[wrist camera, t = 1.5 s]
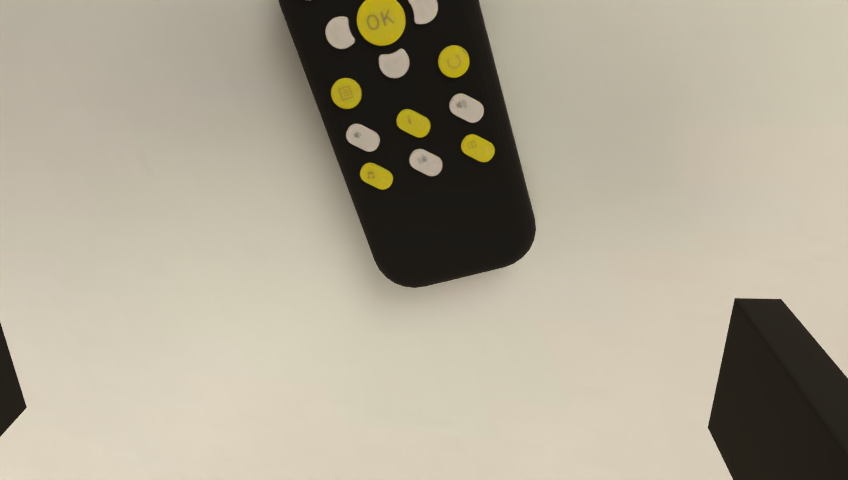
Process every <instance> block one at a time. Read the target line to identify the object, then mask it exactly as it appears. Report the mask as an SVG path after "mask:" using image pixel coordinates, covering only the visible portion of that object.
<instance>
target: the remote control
mask: <svg viewBox="0 0 848 480" xmlns="http://www.w3.org/2000/svg"><path fill="white" fill-rule="evenodd" d="M279 3H280V6H281V9H282V12H283V15H284V17H285V20H286V23H287V25H288V28H289V31H290V33H291V36H292V39H293V41H294V44H295V47H296V50H297V52H298V55H299V58H300V60H301V63H302V66H303V68H304V71H305V74H306V77H307V79H308V82H309V85H310V87H311V90H312V93H313V95H314V98H315V101H316V104H317V106H318V109H319V112H320V114H321V117H322V120H323V122H324V125H325V128H326V130H327V133H328V136H329V139H330V141H331V144H332V147H333V149H334V152H335V155H336V157H337V160H338V163H339V166H340V168H341V171H342V174H343V176H344V179H345V182H346V184H347V187H348V190H349V192H350V195H351V198H352V201H353V203H354V206H355V209H356V211H357V214H358V217H359V219H360V222H361V225H362V228H363V230H364V233H365V236H366V238H367V241H368V244H369V246H370V249H371V252H372V254H373V257H374V260H375V262H376V264H377V266H378V268H379V270H380V271H381V272H382V273H383V274H384V275H385V276H386V277H387V278H388V279H390V280H391V281H393V282H394V283H396V284H399V285H402V286H405V287H413V288H416V287H424V286H429V285H433V284H437V283H441V282H445V281H449V280H453V279H457V278H462V277H466V276H470V275H474V274H478V273H482V272H486V271H490V270H494V269H499V268H503V267H506V266H508V265H511V264H514V263H515V262H516V261H518V260H519V259H521V258H522V257H523V256H524V255H525V254H526V253H527V252H528V250H529V249H530V247H531V245H532V243H533V241H534V237H535V231H536V226H535V218H534V214H533V210H532V206H531V202H530V198H529V194H528V190H527V187H526V183H525V179H524V175H523V171H522V167H521V163H520V159H519V156H518V152H517V148H516V144H515V140H514V136H513V132H512V128H511V124H510V121H509V117H508V113H507V109H506V105H505V101H504V97H503V93H502V89H501V86H500V82H499V78H498V74H497V70H496V66H495V62H494V58H493V55H492V51H491V47H490V43H489V39H488V35H487V31H486V27H485V24H484V20H483V16H482V12H481V8H480V4H479V0H279Z"/></svg>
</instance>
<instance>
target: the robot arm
mask: <svg viewBox="0 0 848 480" xmlns="http://www.w3.org/2000/svg"><path fill="white" fill-rule="evenodd" d="M26 408H27V407H26V404H25V401H24V398H23V394H22V391H21V388H20V385H19V381H18V378H17V375H16V372H15V369H14V365H13V362H12V359H11V356H10V352H9V349H8V346H7V343H6V339H5V336H4V333H3V330H2V327H1V323H0V436H1V435H2V434H3V433H4V432H5V431H6V430H7V429H8V427H9V426H10V425H11V424H12V423H13V422H14V421H15V420H16V419H17V418H18V416H19V415H20V414H21V413H22V412H23V411H24V410H25V409H26ZM708 428H709V430H710V432H711V435H712V437H713V439H714V441H715V443H716V445H717V447H718V449H719V451H720V453H721V455H722V457H723V459H724V462H725V464H726V466H727V468H728V470H729V472H730V474H731V476H732V478H733V480H848V378H847V377H846V376H845V375H844V374H843V372H842V371H841V370H840V369H839V368H838V366H837V365H836V364H835V363H834V362H833V360H832V359H831V358H830V357H829V356H828V354H827V353H826V352H825V351H824V350H823V349H822V347H821V346H820V345H819V344H818V343H817V341H816V340H815V339H814V338H813V337H812V335H811V334H810V333H809V332H808V331H807V329H806V328H805V327H804V326H803V325H802V324H801V322H800V321H799V320H798V319H797V318H796V316H795V315H794V314H793V313H792V312H791V310H790V309H789V308H788V307H787V306H786V304H785V303H784V302H783V301H782V300H781V299H740V298H735V300H734V305H733V310H732V315H731V319H730V324H729V329H728V334H727V339H726V343H725V348H724V353H723V358H722V363H721V367H720V372H719V377H718V382H717V387H716V391H715V396H714V401H713V406H712V411H711V415H710V420H709V425H708Z"/></svg>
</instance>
